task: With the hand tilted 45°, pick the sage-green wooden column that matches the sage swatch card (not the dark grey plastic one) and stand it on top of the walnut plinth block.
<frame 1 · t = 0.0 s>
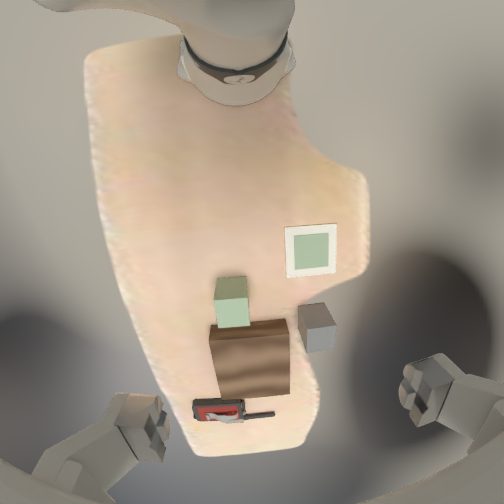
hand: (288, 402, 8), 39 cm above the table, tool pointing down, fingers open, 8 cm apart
grey block: (310, 315, 52), on the table
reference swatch: (311, 250, 48), on the table
walnut plinth: (251, 354, 54), on the table
walkie-talkie: (232, 406, 60), on the table
sage block: (233, 290, 49), on the table
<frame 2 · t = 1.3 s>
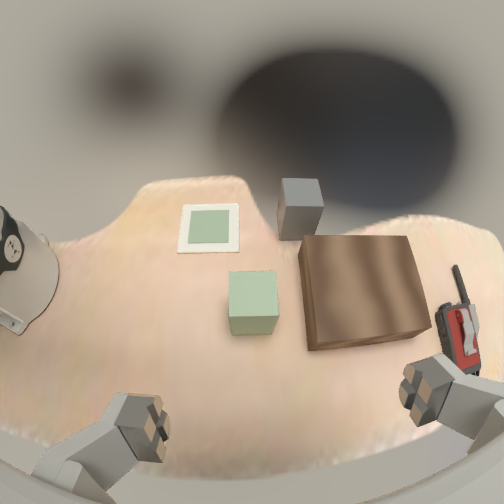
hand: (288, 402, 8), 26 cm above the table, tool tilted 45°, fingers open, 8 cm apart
grey block: (294, 226, 43), on the table
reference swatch: (209, 227, 43), on the table
walnut plinth: (357, 296, 37), on the table
walkie-talkie: (452, 324, 35), on the table
sage block: (251, 316, 36), on the table
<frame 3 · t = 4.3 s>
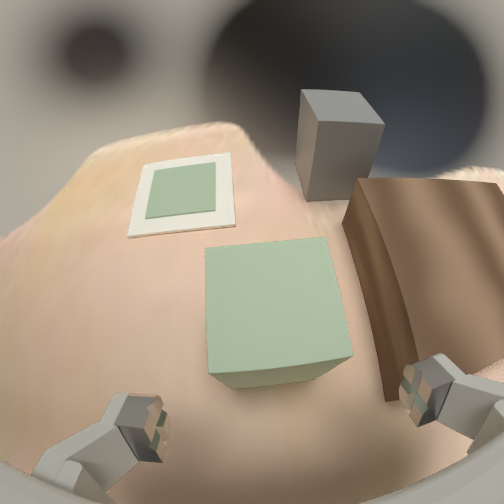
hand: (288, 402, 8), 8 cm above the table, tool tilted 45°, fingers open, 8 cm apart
grey block: (326, 180, 24), on the table
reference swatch: (182, 191, 24), on the table
walnut plinth: (448, 287, 18), on the table
sage block: (268, 346, 17), on the table
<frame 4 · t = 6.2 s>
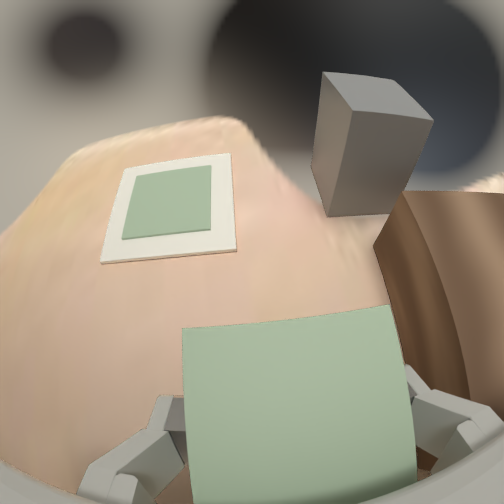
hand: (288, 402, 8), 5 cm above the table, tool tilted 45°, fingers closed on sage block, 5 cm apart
grey block: (350, 188, 19), on the table
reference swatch: (169, 203, 19), on the table
walnut plinth: (492, 323, 13), on the table
sage block: (281, 416, 12), on the table, touching gripper
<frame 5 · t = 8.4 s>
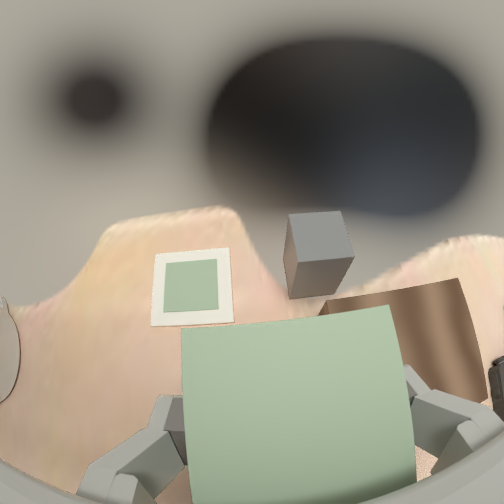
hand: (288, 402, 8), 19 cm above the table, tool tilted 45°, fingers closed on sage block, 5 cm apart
grey block: (308, 276, 31), on the table
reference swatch: (191, 286, 30), on the table
walnut plinth: (397, 367, 25), on the table
sage block: (280, 416, 12), point 14 cm above the table, touching gripper
when the fingers open (11 cm above the table, at t = 11.0 s): sage block drops 1 cm, resting on walnut plinth.
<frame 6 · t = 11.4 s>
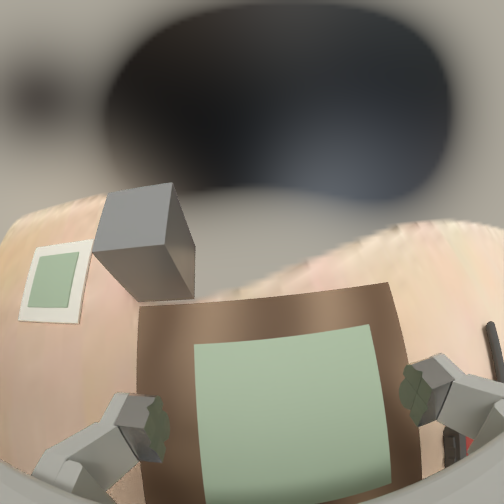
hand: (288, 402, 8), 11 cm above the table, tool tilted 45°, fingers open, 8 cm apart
grey block: (166, 273, 23), on the table
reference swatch: (54, 281, 23), on the table
walnut plinth: (275, 413, 17), on the table
walkie-talkie: (474, 433, 14), on the table
sage block: (278, 416, 13), point 5 cm above the table, touching walnut plinth
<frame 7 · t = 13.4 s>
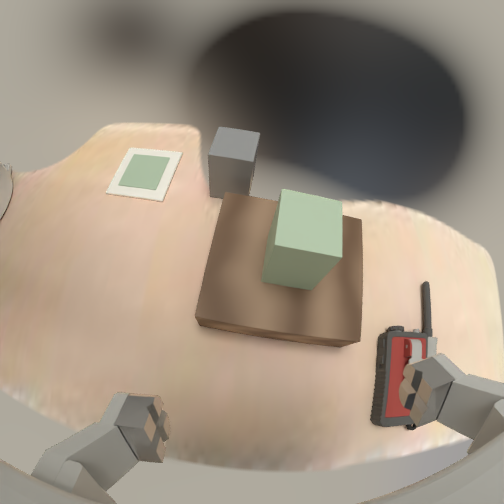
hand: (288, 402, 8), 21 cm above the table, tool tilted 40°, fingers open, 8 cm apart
grey block: (232, 185, 37), on the table
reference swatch: (144, 172, 37), on the table
walnut plinth: (280, 278, 32), on the table
walkie-talkie: (401, 355, 30), on the table
sage block: (289, 262, 28), point 5 cm above the table, touching walnut plinth
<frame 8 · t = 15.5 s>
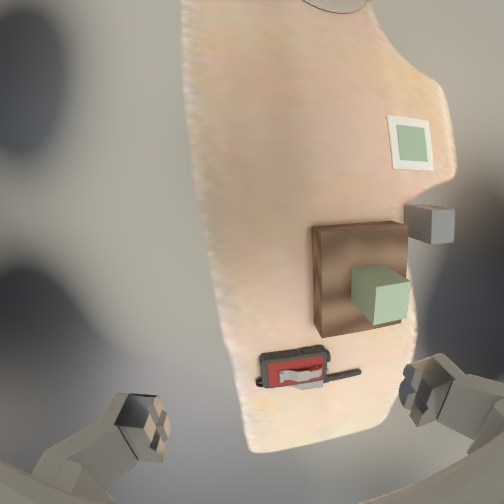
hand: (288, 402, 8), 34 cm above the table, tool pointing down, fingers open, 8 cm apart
grey block: (415, 219, 42), on the table
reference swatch: (411, 143, 39), on the table
walnut plinth: (354, 273, 43), on the table
walkie-talkie: (309, 363, 47), on the table
sage block: (366, 282, 38), point 5 cm above the table, touching walnut plinth
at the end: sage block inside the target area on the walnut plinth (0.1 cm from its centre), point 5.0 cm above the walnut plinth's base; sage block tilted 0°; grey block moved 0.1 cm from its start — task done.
